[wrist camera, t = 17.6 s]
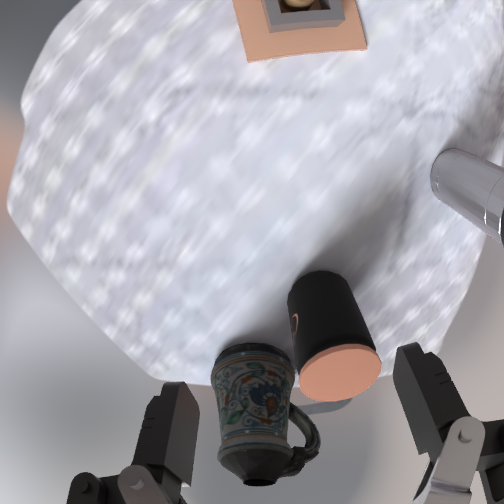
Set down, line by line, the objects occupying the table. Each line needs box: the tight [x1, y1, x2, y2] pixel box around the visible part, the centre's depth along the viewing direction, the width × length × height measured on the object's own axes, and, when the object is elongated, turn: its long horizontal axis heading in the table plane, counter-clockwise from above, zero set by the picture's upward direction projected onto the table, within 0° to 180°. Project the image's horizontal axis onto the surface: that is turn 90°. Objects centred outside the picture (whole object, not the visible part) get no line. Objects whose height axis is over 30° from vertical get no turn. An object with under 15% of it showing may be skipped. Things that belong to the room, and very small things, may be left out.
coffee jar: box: [287, 271, 381, 402], centre depth 42 cm, size 11×11×18 cm
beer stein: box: [211, 343, 320, 486], centre depth 48 cm, size 16×19×25 cm
